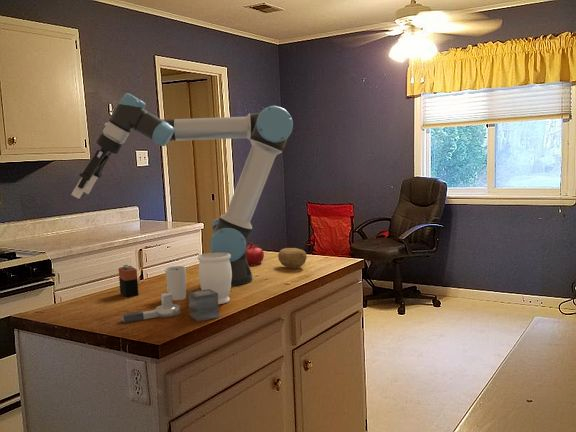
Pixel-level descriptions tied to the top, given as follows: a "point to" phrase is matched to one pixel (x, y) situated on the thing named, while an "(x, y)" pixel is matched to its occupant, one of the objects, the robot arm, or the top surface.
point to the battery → (128, 281)
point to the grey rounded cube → (203, 304)
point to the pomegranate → (254, 254)
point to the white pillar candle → (176, 282)
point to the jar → (216, 274)
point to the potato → (292, 257)
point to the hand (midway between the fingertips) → (80, 194)
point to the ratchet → (161, 311)
